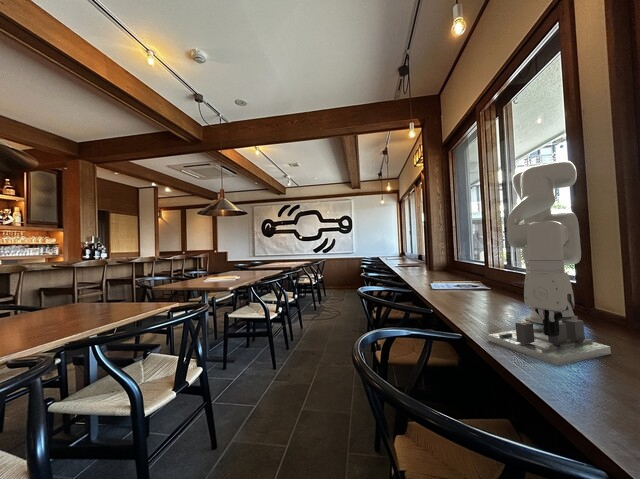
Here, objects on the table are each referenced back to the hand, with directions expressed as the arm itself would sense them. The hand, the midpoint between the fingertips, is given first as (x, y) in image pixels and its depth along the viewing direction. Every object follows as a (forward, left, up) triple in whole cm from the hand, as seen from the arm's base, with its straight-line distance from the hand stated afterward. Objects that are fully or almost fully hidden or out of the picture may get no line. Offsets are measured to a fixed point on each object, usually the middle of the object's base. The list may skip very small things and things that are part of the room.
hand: (551, 335), depth 74 cm
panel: (-7, -8, -7) cm, 13 cm away
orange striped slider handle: (0, -8, -4) cm, 9 cm away
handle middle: (-7, -4, -4) cm, 9 cm away
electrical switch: (-25, -12, -7) cm, 29 cm away
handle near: (-14, -4, -4) cm, 15 cm away
